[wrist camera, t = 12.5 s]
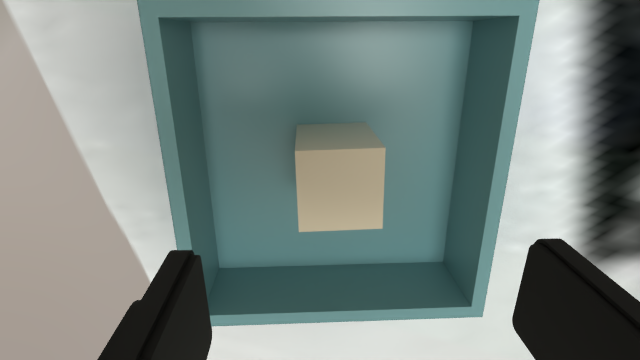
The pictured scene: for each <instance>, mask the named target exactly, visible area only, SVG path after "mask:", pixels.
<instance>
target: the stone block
mask: <svg viewBox="0 0 640 360" xmlns="http://www.w3.org/2000/svg"><path fill="white" fill-rule="evenodd" d="M385 151H386V148H385V146H384V145H383V144H382V142H381V141H380V140H379V138H378V137H377V136H376V135H375V133H374V132H373V131H372V129H371V128H370V127H369V125H368V124H367V123H366V122H363V123H333V124H302V125H297V130H296V142H295V165H296V185H297V205H298V226H299V232H313V231H338V230H362V229H382V228H383V203H384V177H385Z"/></svg>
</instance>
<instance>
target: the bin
mask: <svg viewBox="0 0 640 360" xmlns="http://www.w3.org/2000/svg"><path fill="white" fill-rule="evenodd" d="M137 3H138V9H139V16H140V22H141V28H142V34H143V40H144V47H145V53H146V59H147V65H148V71H149V78H150V84H151V90H152V96H153V102H154V108H155V115H156V121H157V127H158V133H159V139H160V146H161V152H162V158H163V164H164V170H165V177H166V183H167V189H168V195H169V201H170V207H171V214H172V220H173V226H174V232H175V238H176V245H177V250H193V252H194V255H200V256H201V260H202V267H203V274H204V280H205V287H206V294H207V301H208V307H209V314H210V321H211V326H234V325H263V324H291V323H320V322H349V321H378V320H407V319H435V318H464V317H482V316H483V311H484V305H485V300H486V294H487V288H488V283H489V277H490V272H491V266H492V261H493V255H494V250H495V244H496V238H497V233H498V227H499V222H500V216H501V211H502V205H503V200H504V194H505V188H506V183H507V177H508V172H509V166H510V161H511V155H512V150H513V144H514V138H515V133H516V127H517V122H518V116H519V111H520V105H521V99H522V94H523V88H524V83H525V77H526V72H527V66H528V61H529V55H530V49H531V44H532V38H533V33H534V27H535V22H536V16H537V11H538V5H539V0H137ZM363 122H366V123H367V124H368V125H369V127H370V128H371V129H372V131H373V132H374V133H375V135H376V136H377V137H378V138H379V140H380V141H381V142H382V144H383V145H384V146H385V148H386V151H385V177H384V203H383V228H382V229H362V230H338V231H313V232H299V226H298V205H297V185H296V165H295V142H296V130H297V125H302V124H333V123H363Z"/></svg>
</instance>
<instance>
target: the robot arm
mask: <svg viewBox="0 0 640 360" xmlns="http://www.w3.org/2000/svg"><path fill="white" fill-rule="evenodd" d="M512 322H513V327H514V329H515V331H516V333H517V334H518V336H519V337H520V338H521V340H522V341H523V343H524V344H525V345H526V347H527V348H528V350H529V351H530V353H531V354H532V355H533V357H534V358H535V360H640V302H639V301H638V300H637V299H635V298H634V297H633V296H632V295H630V294H629V293H628V292H627V291H625V290H624V289H623V288H622V287H620V286H619V285H618V284H617V283H616V282H614V281H613V280H612V279H611V278H609V277H608V276H607V275H606V274H604V273H603V272H602V271H601V270H599V269H598V268H597V267H596V266H594V265H593V264H592V263H591V262H590V261H588V260H587V259H586V258H585V257H583V256H582V255H581V254H580V253H578V252H577V251H576V250H575V249H573V248H572V247H571V246H570V245H568V244H567V243H566V242H565V241H563V240H562V239H539V240H537V241H536V242H535V243H534V244H533V245H531V246H530V248H529V251H528V255H527V259H526V263H525V268H524V272H523V276H522V280H521V284H520V288H519V293H518V297H517V301H516V305H515V309H514V313H513V318H512ZM211 340H212V328H211V321H210V314H209V307H208V301H207V294H206V287H205V280H204V274H203V267H202V260H201V256H200V255H194V252H193V250H172V251H170V252H169V253H168V255H167V257H166V258H165V260H164V262H163V264H162V265H161V267H160V269H159V270H158V272H157V274H156V276H155V277H154V279H153V281H152V282H151V284H150V286H149V287H148V290H147V291H146V293H145V294H144V296H143V298H142V299H141V300H137V301H135V302H133V303H132V305H131V306H130V308H129V309H128V311H127V312H126V314H125V316H124V317H123V319H122V320H121V322H120V324H119V325H118V327H117V329H116V330H115V332H114V334H113V335H112V337H111V339H110V340H109V342H108V343H107V345H106V347H105V348H104V350H103V352H102V353H101V355H100V356H99V358H98V360H206V359H207V356H208V352H209V349H210V345H211Z"/></svg>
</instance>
